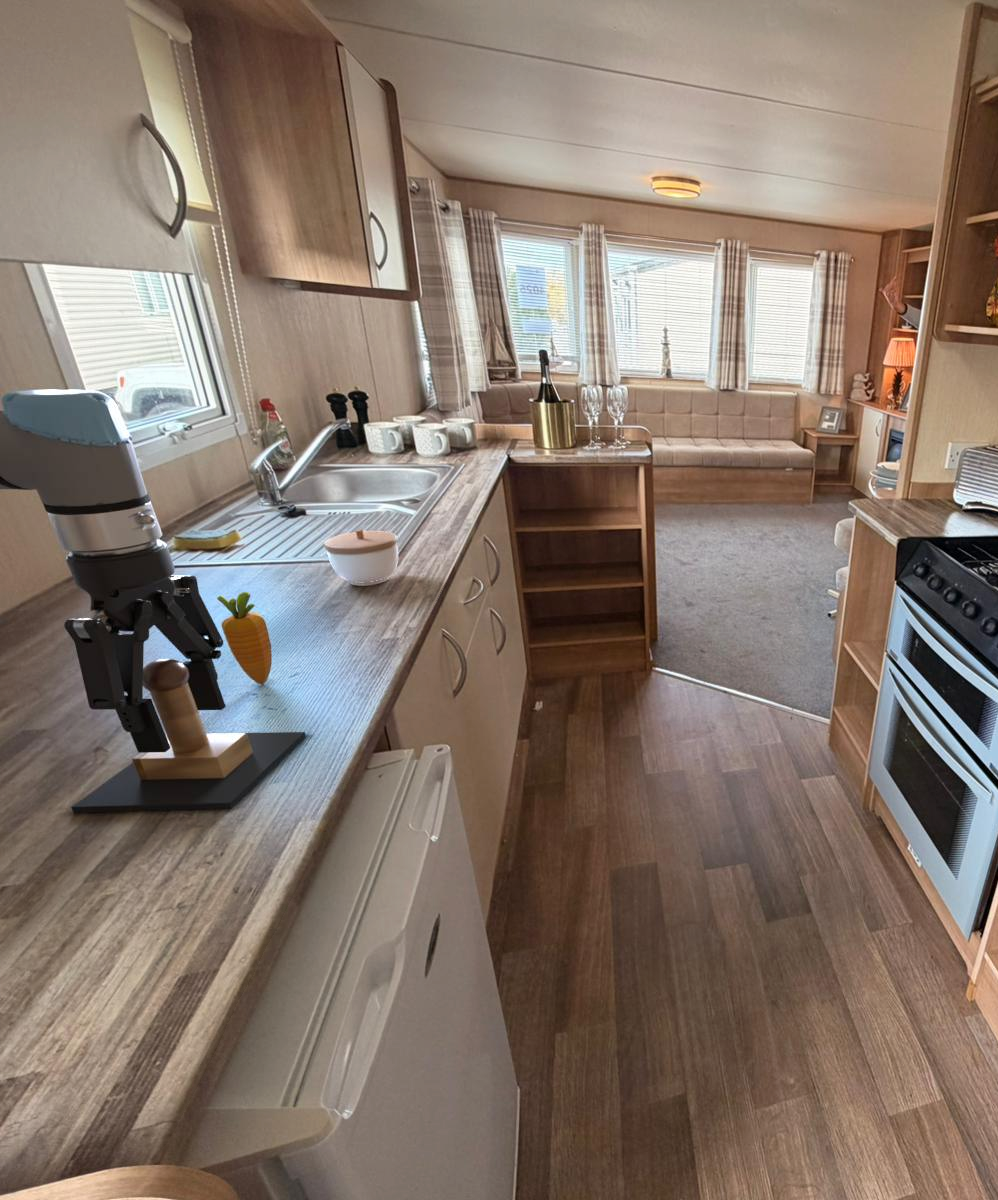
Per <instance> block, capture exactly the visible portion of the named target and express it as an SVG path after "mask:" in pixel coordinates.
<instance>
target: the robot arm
mask: <svg viewBox="0 0 998 1200" xmlns="http://www.w3.org/2000/svg"><path fill="white" fill-rule="evenodd" d="M0 402H1V404H2V405H1V406H2V408H3V409H2V410H0V490H19V491H21V490H22V491H34V490H35V491H36V492H37V494H38V496H39V499H40V501H41V503H42V504H43V507H44V510H45V512H46V515H47V517H48V520H49V523H50V526H51V528H52V530H53V533H54V536H55V538H56V540H57V543H58V545H59V547H60V549H62V550H64V551H67V554H66V555H65V557H64V559H65V561H66V564H67V566H68V569H69V571H70V574H71V576H72V578H73V581H74V583H75V585H76V586H77V587H78V588H79V589H81V590H83V591H85V592H86V593H87V594H88V595H89V596H90V608H89V609H90V611H89V612H88V613H86V614H84V616H82V617H80V618H69V619H66V621H65V622H64V625H63V626H64V629H65V630H66V632H67V633H68V635H69V636H70V638H71V639H72V641H73V642H74V647H75V651H76V655H77V659H78V665H79V669H80V672H81V677H82V681H83V685H84V689H85V694H86V698H87V703H88V706H89V708H90V710H94V711H95V710H96V711H98V710H100V711H101V710H103V711H104V710H115V712H116V714H117V717H118V719H119V721H120V724H121V726H122V728H123V730H124V731H125V732H126V733H130V735H131V739H132V741H133V744H134V746H135V748H136V751H137V753H138V754H140V753H145V752H166V751H167V750H169V749H170V745H169V743H168V740H167V738H166V732H165V729H164V727H163V724H162V722H161V719H160V716H159V714H158V711H157V709H156V706H155V704H154V701H153V699H152V698H143V697H144V695H143V694H144V693H143V692H144V691H143V690H144V687H143V668H144V651H145V649H144V647H145V643H146V641H148V640H149V638H150V629H151V628H153V627H154V626H155V628H156V629H157V630H158V631H159V632H160V633H161V634H162V635H163V636H164V637H165V639H167V640H168V641H169V642H170V643H171V644H172V645H173V646H174V647H175V648H176V649H177V651H179V653H180V654H182V656H183V657H184V658H185V659H186V660H185V661H184V662H182V663H183V664H184V665H185V666H186V667H187V668H188V670H189V679H188V681H187V682H188V684H189V687H190V690H191V693H192V695H193V698H194V701H195V704H196V706H197V709H198V711H223V710H224V709H225V708H226V703H225V700H224V697H223V695H222V691H221V688H220V686H219V683H218V678H219V677H218V673H217V669H216V666H215V664H214V661H213V660H219V659H220V658H221V657H222V651H221V650H219V649H221V647H223V646H224V640H223V637H222V635H221V634H220V632H219V629H218V627H217V626H216V623H215V622H214V619H213V618H212V616H211V614H210V612H209V609H208V608H207V606H206V604H205V602H204V600H203V598H202V597H201V594H200V591H199V590H200V589H199V584H198V579H197V577H196V576H195V575H179V574H178V575H174V573H175V572H176V569H175V568H176V567H175V564H174V562H173V558H172V556H171V553H170V550H169V547H168V544H167V543H166V542H165V541H163V540H161V539H160V538H161V537H162V536H163V532H162V528H161V526H160V523H159V520H158V517H157V515H156V513H155V510H154V507H153V504H152V501H151V496H150V494H149V492H148V490H147V487H146V484H145V481H144V478H143V475H142V471H141V468H140V465H139V462H138V457H137V454H136V451H135V447H134V444H133V437H132V436H133V435H132V434H131V432H130V431H129V430H128V428H127V426H126V424H125V421H124V419H123V416H122V414H121V412H120V410H119V407H118V405H117V403H116V401H115V400H114V399H113V398H112V396H110V395H108V394H107V393H104V392H101V391H97V390H89V389H27V390H16V391H9V392H6V393H5V394H3V395H2V397H1V401H0ZM121 632H125V633H121ZM126 632H129V633H126ZM217 648H219V649H217Z"/></svg>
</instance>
